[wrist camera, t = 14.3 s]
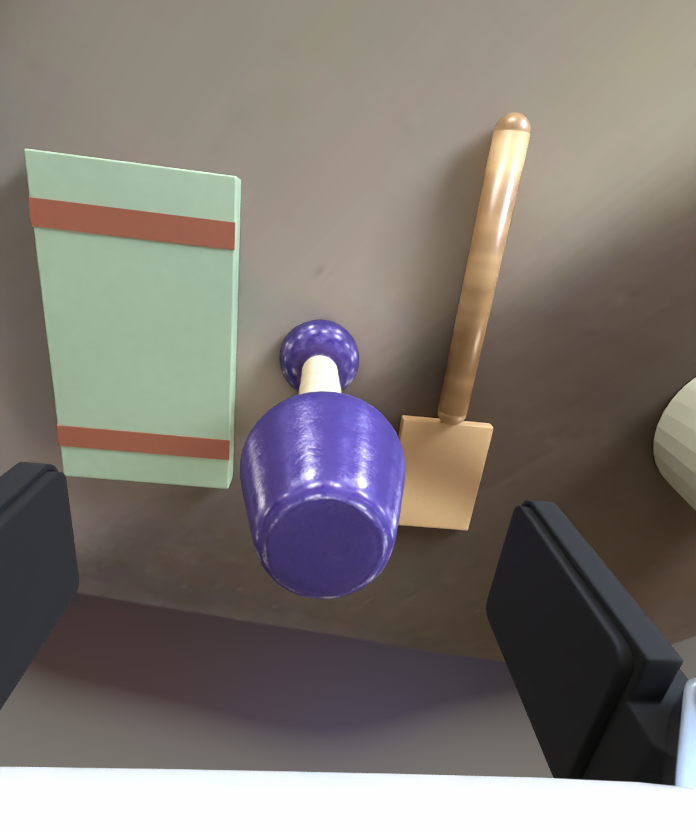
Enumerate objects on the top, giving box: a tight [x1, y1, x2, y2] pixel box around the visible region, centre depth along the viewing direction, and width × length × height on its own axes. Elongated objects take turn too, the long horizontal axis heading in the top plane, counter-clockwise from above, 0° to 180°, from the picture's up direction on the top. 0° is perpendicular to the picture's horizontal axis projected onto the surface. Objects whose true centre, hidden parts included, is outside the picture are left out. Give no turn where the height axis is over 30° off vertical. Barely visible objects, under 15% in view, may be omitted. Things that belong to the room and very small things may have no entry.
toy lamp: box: [240, 320, 406, 599], centre depth 18 cm, size 5×5×17 cm
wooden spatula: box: [398, 113, 531, 530], centre depth 25 cm, size 22×5×2 cm, turn 173°
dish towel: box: [24, 149, 241, 489], centre depth 24 cm, size 9×16×1 cm, turn 173°
